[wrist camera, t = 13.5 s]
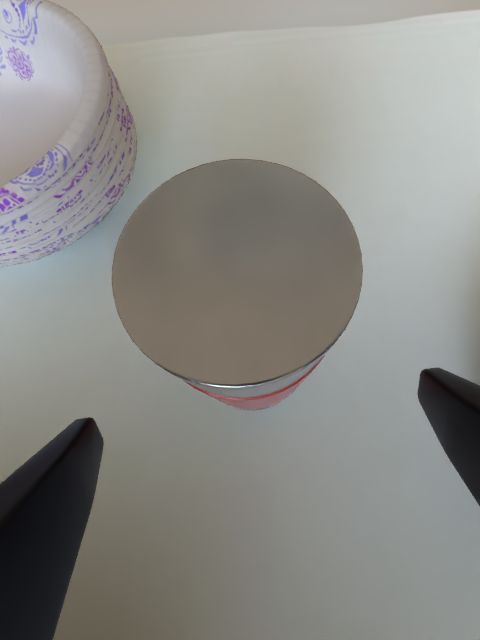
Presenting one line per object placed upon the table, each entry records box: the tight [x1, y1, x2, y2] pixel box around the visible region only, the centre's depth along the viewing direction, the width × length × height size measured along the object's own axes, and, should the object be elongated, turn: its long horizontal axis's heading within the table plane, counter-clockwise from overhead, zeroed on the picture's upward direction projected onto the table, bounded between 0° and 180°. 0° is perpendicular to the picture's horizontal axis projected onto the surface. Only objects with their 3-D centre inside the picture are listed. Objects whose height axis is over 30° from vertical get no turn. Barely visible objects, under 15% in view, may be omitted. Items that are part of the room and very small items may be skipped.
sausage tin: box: [112, 159, 363, 410], centre depth 14 cm, size 6×6×12 cm
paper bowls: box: [0, 0, 137, 266], centre depth 21 cm, size 15×15×8 cm
